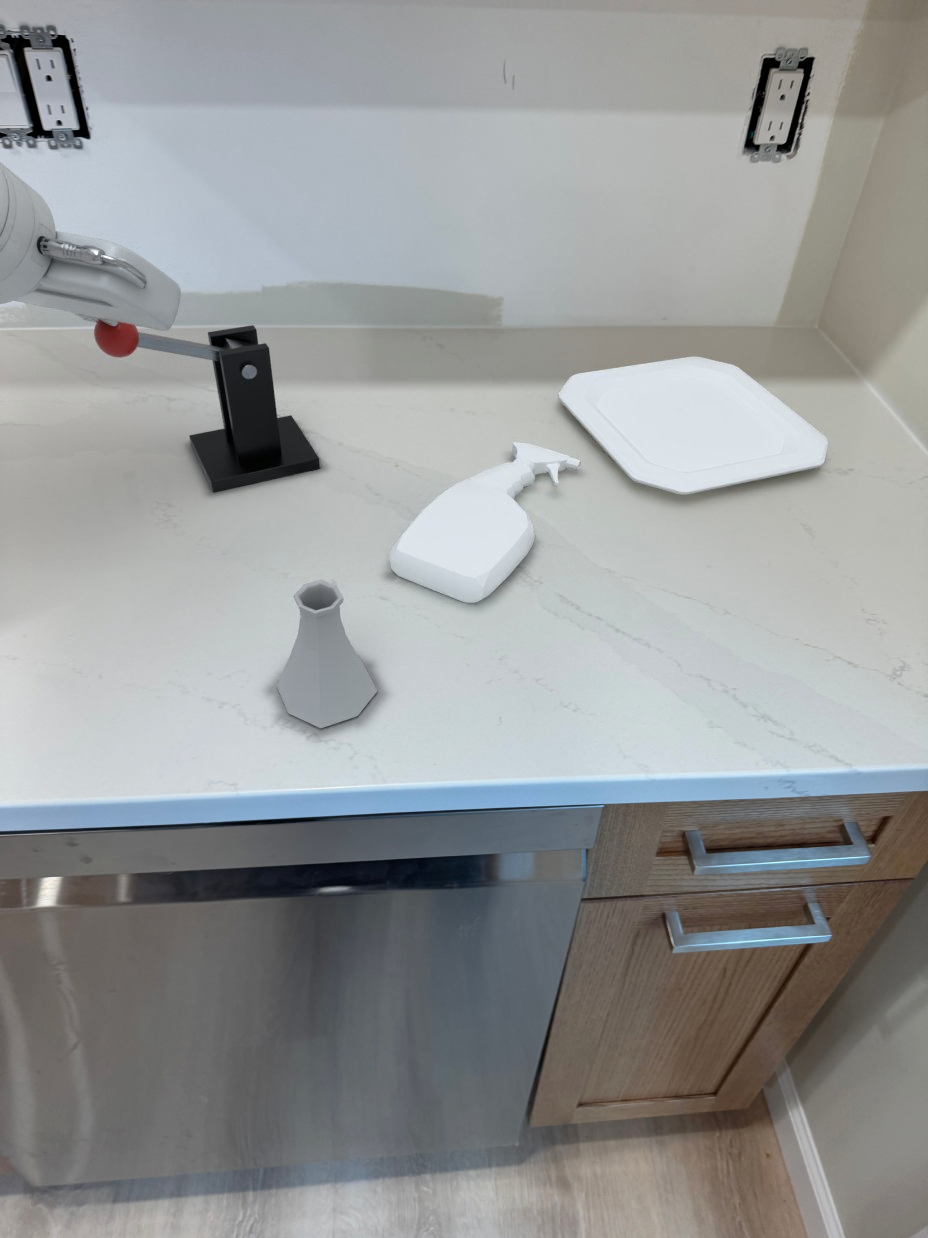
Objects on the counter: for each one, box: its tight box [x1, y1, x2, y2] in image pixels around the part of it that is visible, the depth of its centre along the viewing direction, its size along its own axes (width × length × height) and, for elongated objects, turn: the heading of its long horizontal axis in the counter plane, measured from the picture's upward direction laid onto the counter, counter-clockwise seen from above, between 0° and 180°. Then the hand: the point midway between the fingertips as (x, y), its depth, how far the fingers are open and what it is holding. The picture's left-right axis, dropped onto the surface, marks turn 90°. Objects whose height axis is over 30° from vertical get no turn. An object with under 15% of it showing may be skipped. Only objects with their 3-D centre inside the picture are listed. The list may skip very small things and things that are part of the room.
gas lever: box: [93, 322, 255, 361], centre depth 74 cm, size 14×4×4 cm, turn 117°
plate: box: [557, 355, 829, 496], centre depth 92 cm, size 25×25×2 cm
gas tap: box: [188, 324, 321, 493], centre depth 81 cm, size 11×9×13 cm
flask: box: [276, 579, 378, 729], centre depth 60 cm, size 7×7×10 cm
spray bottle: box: [388, 441, 582, 604], centre depth 79 cm, size 3×11×25 cm
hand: (104, 314), depth 69 cm, fingers closed, pressing on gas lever
